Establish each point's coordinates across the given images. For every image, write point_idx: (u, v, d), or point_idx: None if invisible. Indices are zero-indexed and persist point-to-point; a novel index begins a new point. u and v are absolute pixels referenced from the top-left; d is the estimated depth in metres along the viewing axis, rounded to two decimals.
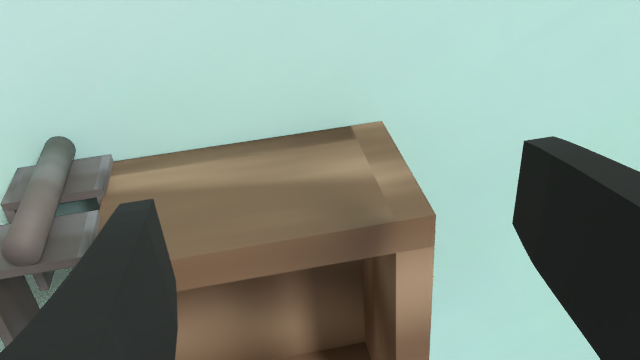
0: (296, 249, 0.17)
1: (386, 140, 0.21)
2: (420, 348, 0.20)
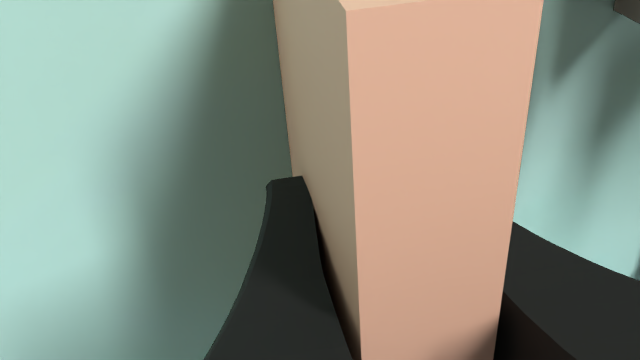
0: None
1: None
2: None
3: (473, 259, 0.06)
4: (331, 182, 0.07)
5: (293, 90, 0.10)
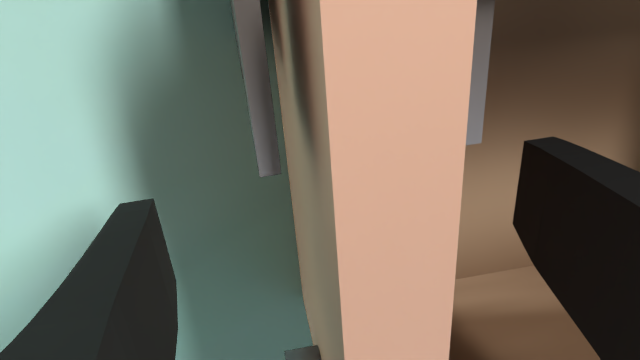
0: None
1: None
2: None
3: (432, 194, 0.07)
4: (314, 135, 0.08)
5: (284, 65, 0.11)
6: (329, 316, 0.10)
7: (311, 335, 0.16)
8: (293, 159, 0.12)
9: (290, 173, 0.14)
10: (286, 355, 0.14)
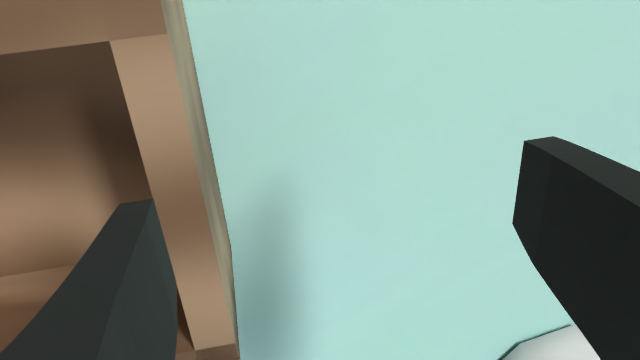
0: None
1: None
2: (192, 209, 0.15)
3: None
4: None
5: None
6: None
7: None
8: None
9: None
10: None
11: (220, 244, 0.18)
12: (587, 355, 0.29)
